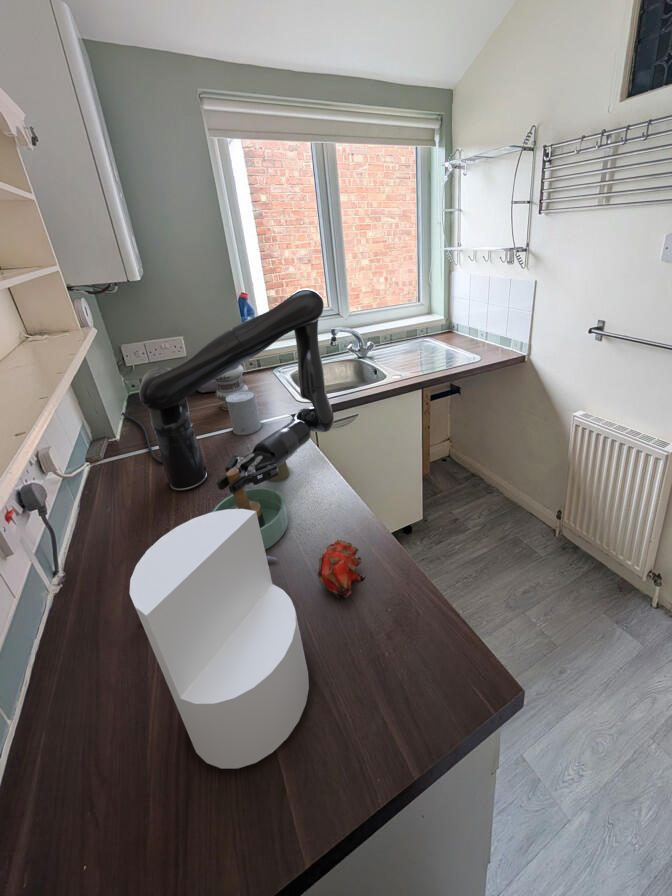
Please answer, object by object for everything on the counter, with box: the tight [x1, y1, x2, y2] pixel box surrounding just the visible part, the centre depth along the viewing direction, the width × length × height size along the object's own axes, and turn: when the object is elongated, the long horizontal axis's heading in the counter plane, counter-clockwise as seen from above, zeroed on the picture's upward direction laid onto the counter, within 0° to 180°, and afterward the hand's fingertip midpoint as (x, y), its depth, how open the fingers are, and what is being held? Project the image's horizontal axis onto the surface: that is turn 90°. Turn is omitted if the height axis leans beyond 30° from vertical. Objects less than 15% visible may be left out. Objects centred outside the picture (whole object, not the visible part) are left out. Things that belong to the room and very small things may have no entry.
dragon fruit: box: [317, 539, 367, 598], centre depth 77 cm, size 8×8×12 cm
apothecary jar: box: [215, 364, 249, 411], centre depth 156 cm, size 12×12×18 cm
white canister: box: [226, 390, 262, 436], centre depth 138 cm, size 10×10×12 cm
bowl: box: [211, 487, 289, 551], centre depth 92 cm, size 16×16×6 cm
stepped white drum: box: [129, 509, 310, 769], centre depth 55 cm, size 17×17×28 cm
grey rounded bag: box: [197, 378, 243, 393], centre depth 176 cm, size 15×8×20 cm
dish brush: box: [225, 469, 265, 528], centre depth 91 cm, size 7×7×15 cm
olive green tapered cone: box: [268, 460, 290, 482], centre depth 111 cm, size 6×6×11 cm
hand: (225, 487), depth 86 cm, fingers closed on dish brush, 2 cm apart
